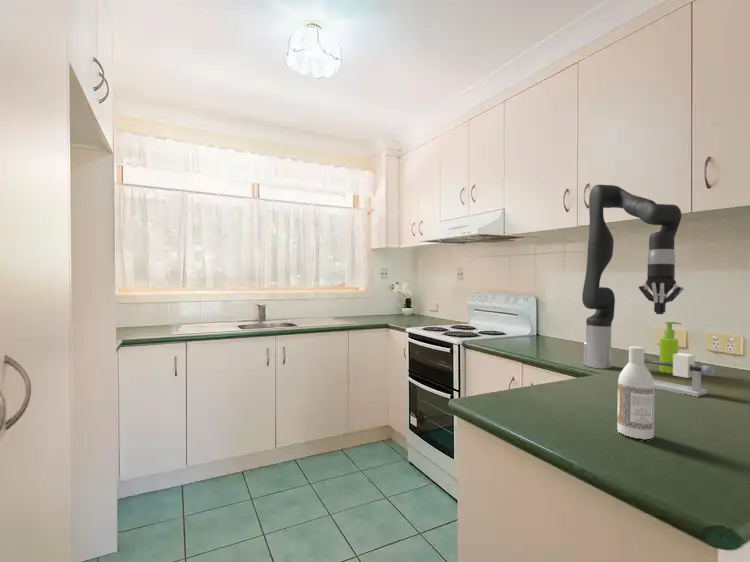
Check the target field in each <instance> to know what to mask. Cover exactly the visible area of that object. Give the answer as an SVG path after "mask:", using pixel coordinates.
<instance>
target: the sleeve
mask: <svg viewBox="0 0 750 562" xmlns="http://www.w3.org/2000/svg"><path fill="white" fill-rule="evenodd" d="M695 360H696V355H695V354H691V353H685V352H678V353H677V354H673V374H672V376H674V377H675V376H676V377H681V378H687V379H688V378H692V371H693V370H690V366H693V367H696V366H695V362H696V361H695Z"/></svg>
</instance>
